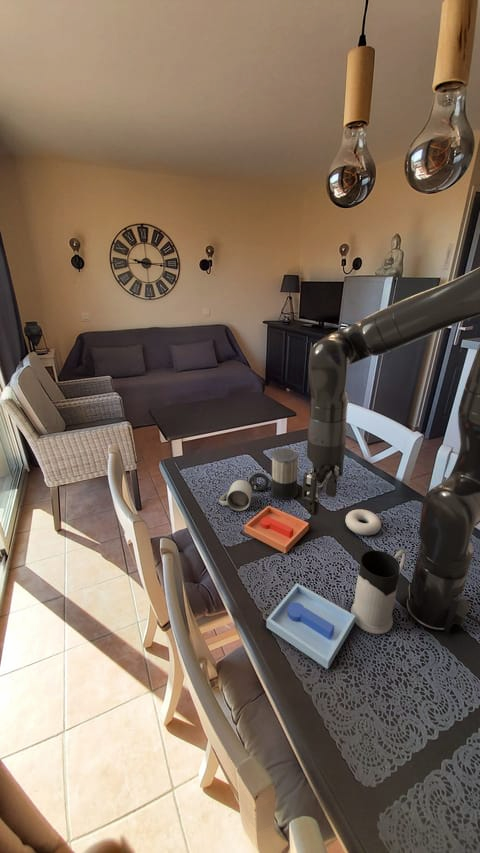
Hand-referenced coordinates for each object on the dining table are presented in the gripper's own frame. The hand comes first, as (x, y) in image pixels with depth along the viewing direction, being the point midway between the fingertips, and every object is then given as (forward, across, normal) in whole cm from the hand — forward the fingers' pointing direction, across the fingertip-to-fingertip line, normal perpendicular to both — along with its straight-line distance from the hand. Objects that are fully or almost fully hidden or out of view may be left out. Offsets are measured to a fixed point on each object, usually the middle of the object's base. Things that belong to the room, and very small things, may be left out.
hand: (322, 504), depth 79 cm
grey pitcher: (+24, +2, -14) cm, 28 cm away
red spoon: (+22, +11, +19) cm, 31 cm away
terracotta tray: (+23, +10, +19) cm, 31 cm away
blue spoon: (+23, -11, -4) cm, 25 cm away
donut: (+23, +27, -1) cm, 36 cm away
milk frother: (+23, +28, +31) cm, 48 cm away
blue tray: (+23, -11, -4) cm, 26 cm away
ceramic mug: (+23, +14, +37) cm, 45 cm away
